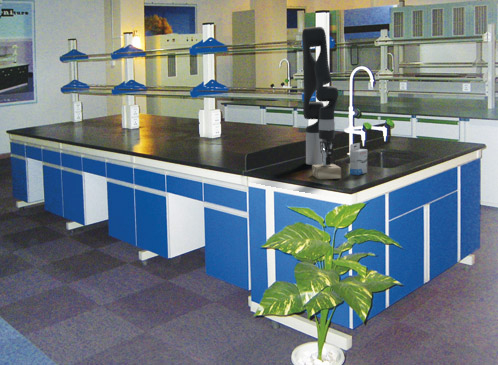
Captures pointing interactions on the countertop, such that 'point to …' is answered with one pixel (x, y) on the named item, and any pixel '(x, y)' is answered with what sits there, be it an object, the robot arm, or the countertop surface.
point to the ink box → (358, 159)
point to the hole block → (326, 171)
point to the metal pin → (325, 160)
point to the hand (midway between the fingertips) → (326, 163)
